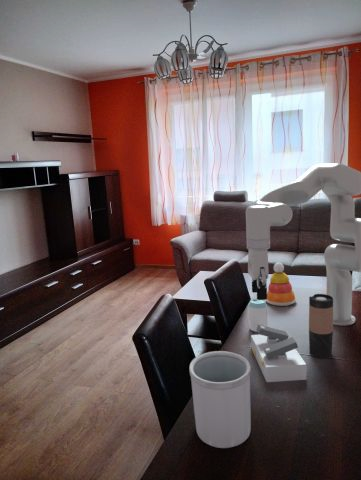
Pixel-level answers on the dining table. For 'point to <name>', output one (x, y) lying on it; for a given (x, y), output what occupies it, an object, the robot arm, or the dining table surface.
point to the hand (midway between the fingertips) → (259, 295)
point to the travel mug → (320, 325)
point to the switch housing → (278, 361)
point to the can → (257, 314)
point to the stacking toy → (280, 288)
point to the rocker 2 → (280, 348)
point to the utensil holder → (221, 398)
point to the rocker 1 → (272, 332)
